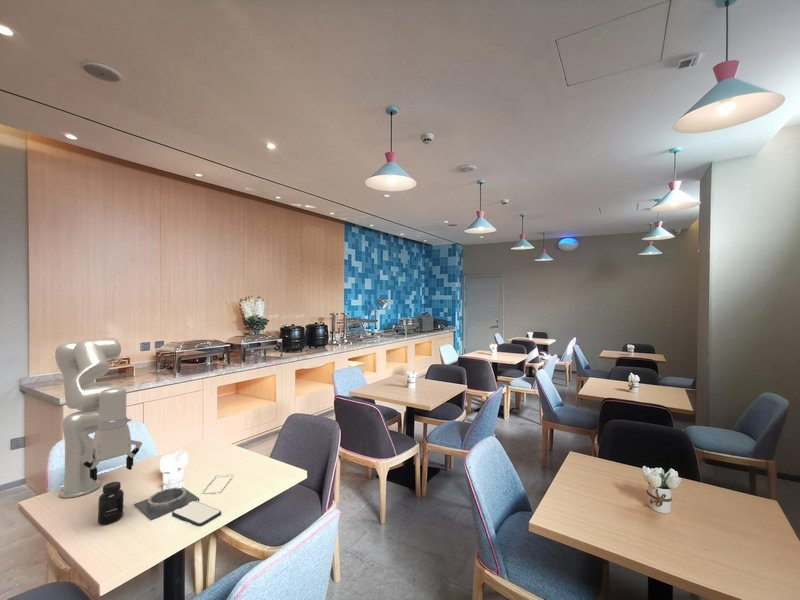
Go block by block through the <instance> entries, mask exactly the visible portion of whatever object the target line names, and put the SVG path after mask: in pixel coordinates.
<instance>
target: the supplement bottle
mask: <svg viewBox="0 0 800 600" xmlns="http://www.w3.org/2000/svg"><path fill="white" fill-rule="evenodd" d="M121 488H122V487H121V482H120V481H112V482H111V481H110V482H109V483H106V484H104V485H103V486H102V493H101V495H99V497H98V504H97V505H98V506H97V507H98V508H97V524H99V525H100V526H101V525H103V526H104V525H105V526H106V525H110V524H114V523H116V522H118V521H119V520H121V519H122V517H123V515H124V497H125V496H124V495H125V492H124V490H123V489H121Z"/></svg>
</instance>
